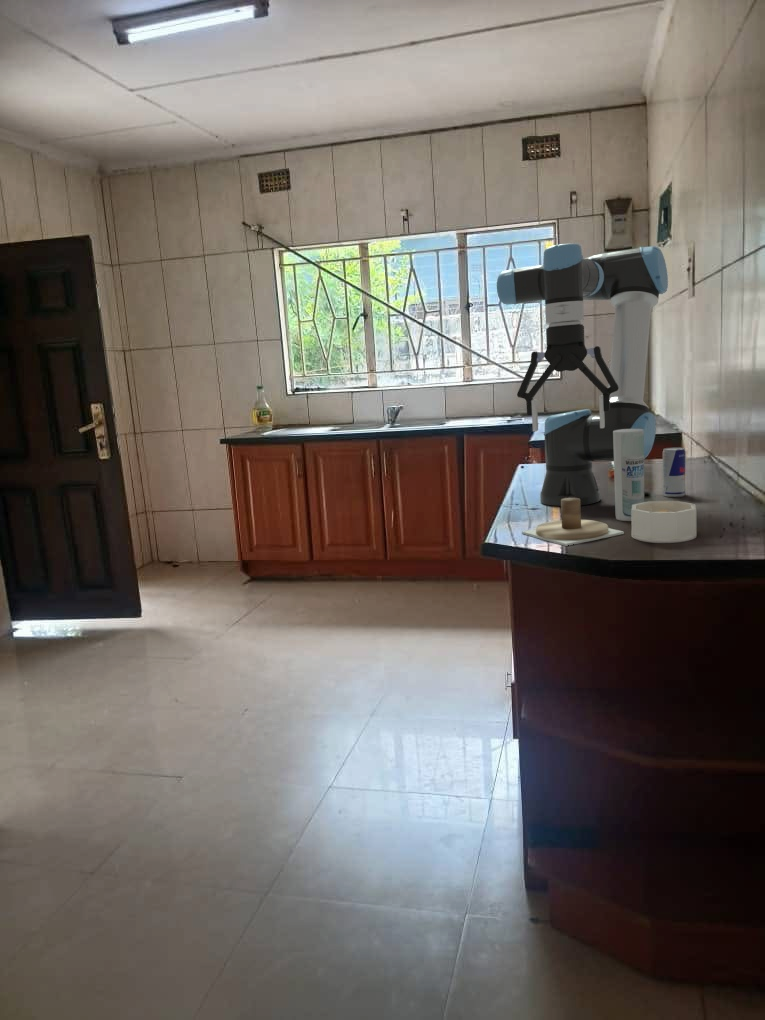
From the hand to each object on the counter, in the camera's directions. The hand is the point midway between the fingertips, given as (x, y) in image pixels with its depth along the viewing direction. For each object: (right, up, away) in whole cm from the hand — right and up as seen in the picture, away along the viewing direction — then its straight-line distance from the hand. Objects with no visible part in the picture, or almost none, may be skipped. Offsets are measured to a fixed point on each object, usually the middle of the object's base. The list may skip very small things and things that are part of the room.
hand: (568, 429), depth 156 cm
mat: (+2, -22, +4) cm, 22 cm away
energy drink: (+36, -13, +36) cm, 52 cm away
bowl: (+19, -22, -4) cm, 29 cm away
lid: (+2, -21, +4) cm, 22 cm away
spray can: (+18, -19, +14) cm, 30 cm away
